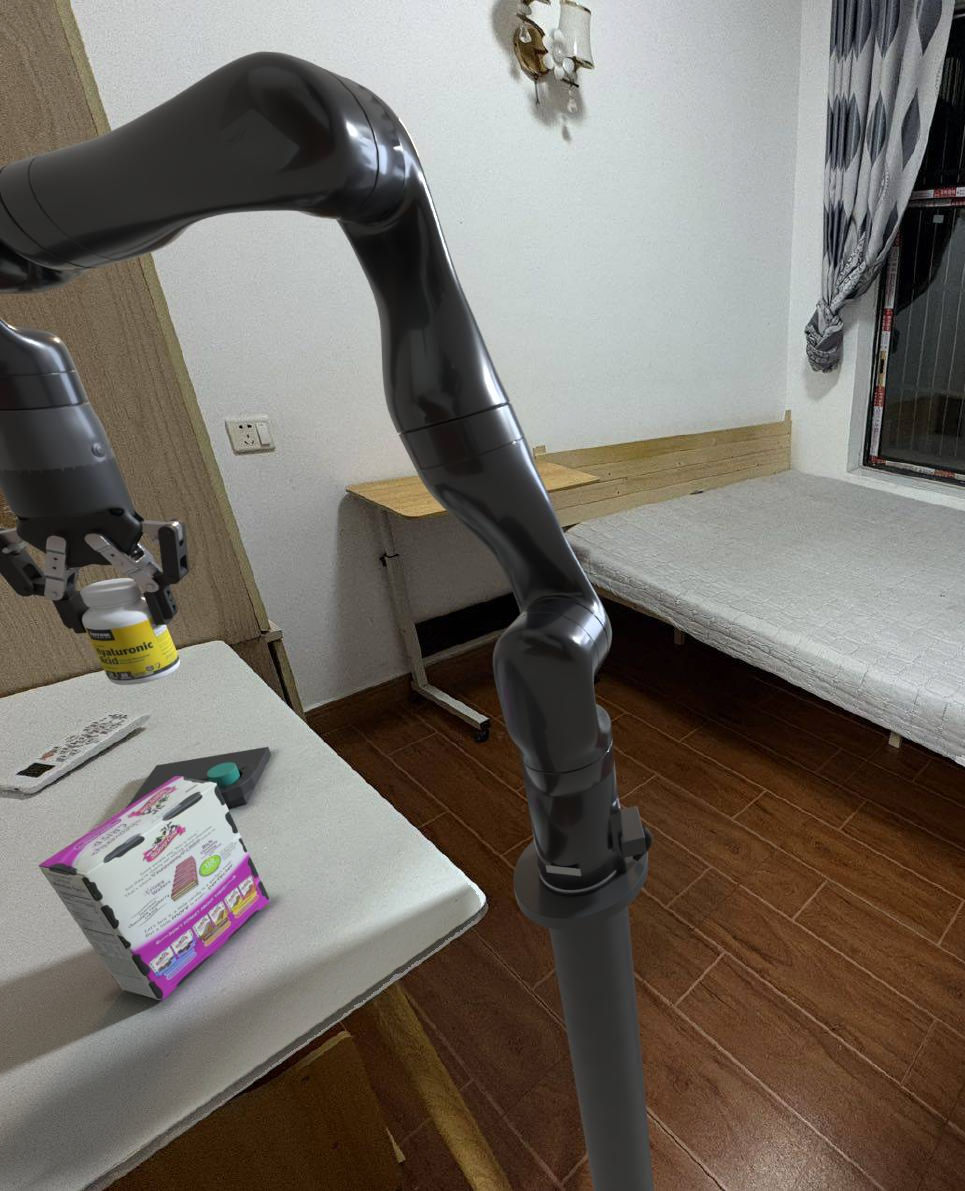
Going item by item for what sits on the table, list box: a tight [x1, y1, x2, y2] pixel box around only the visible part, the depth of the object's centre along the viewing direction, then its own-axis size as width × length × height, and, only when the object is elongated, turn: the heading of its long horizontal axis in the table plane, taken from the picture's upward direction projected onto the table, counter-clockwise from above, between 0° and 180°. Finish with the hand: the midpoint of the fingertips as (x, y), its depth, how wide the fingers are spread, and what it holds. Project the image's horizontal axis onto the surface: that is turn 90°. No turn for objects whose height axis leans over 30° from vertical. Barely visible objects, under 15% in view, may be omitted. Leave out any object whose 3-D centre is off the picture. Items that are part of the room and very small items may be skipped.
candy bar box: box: [38, 776, 271, 1001], centre depth 60 cm, size 11×5×16 cm, turn 170°
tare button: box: [207, 762, 240, 788], centre depth 80 cm, size 3×3×2 cm
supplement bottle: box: [79, 577, 181, 686], centre depth 64 cm, size 5×5×10 cm
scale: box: [124, 746, 272, 809], centre depth 81 cm, size 13×11×3 cm
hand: (126, 625), depth 64 cm, fingers closed on supplement bottle, 5 cm apart
